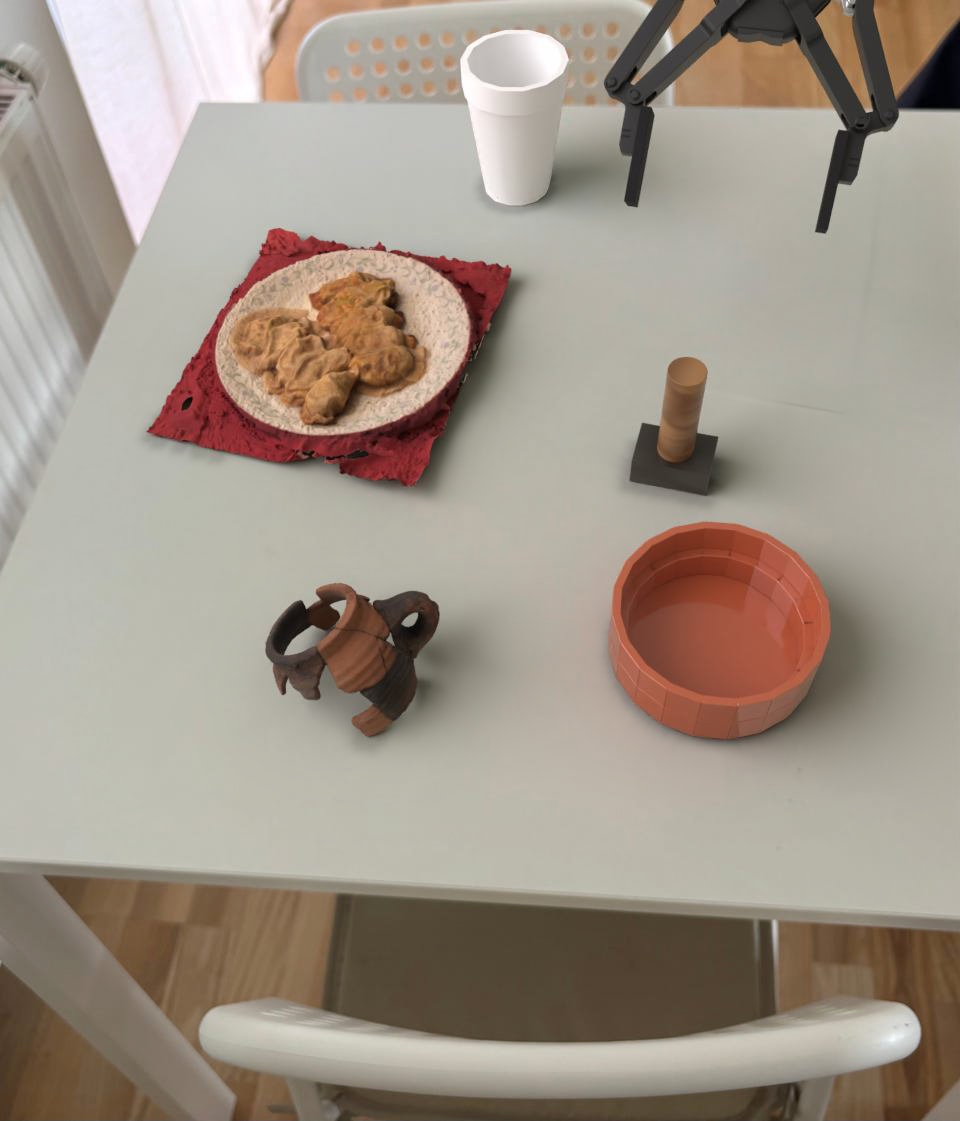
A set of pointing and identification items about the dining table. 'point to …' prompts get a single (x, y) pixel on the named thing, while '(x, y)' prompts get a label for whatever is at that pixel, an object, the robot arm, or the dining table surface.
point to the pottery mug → (356, 649)
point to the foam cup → (515, 110)
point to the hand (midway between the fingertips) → (724, 218)
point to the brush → (677, 435)
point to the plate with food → (336, 356)
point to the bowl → (717, 629)
